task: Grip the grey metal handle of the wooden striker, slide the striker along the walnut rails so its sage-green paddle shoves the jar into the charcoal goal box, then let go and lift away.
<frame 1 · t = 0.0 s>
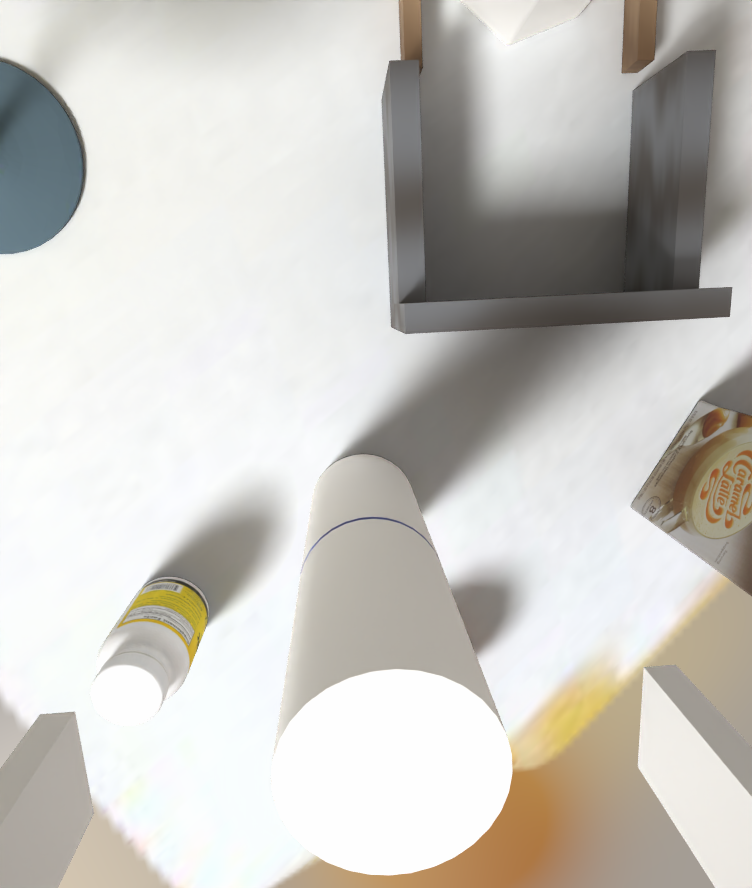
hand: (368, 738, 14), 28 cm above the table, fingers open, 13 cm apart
cylindrical container: (362, 502, 42), on the table
lane: (520, 58, 36), on the table
supplement bottle: (173, 607, 43), on the table
coffee box: (695, 471, 43), on the table
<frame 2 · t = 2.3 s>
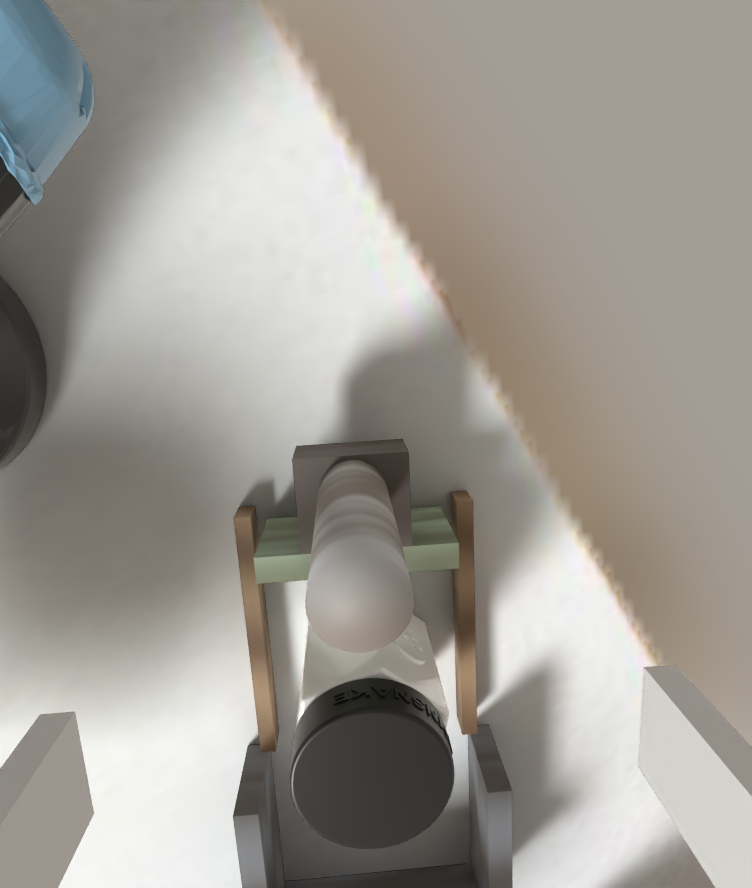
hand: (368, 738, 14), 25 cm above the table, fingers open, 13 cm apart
striker: (356, 538, 29), point 9 cm above the table, slide at 0.0 cm
jar: (363, 644, 41), resting in lane
lane: (367, 710, 42), on the table
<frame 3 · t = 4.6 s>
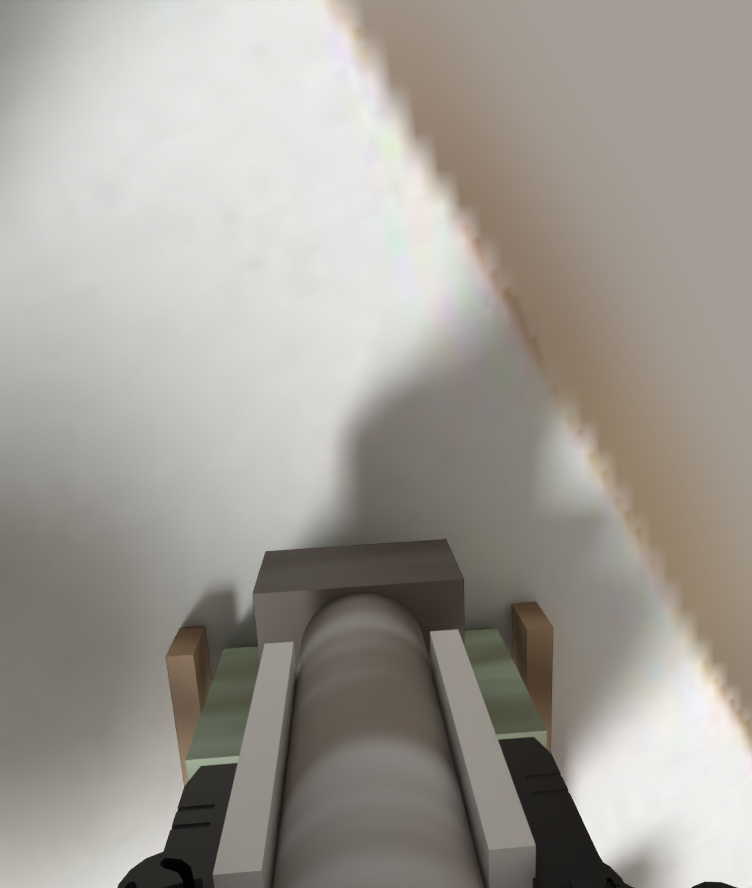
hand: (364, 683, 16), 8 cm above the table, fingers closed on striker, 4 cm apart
striker: (369, 766, 15), point 9 cm above the table, slide at 0.0 cm, touching gripper
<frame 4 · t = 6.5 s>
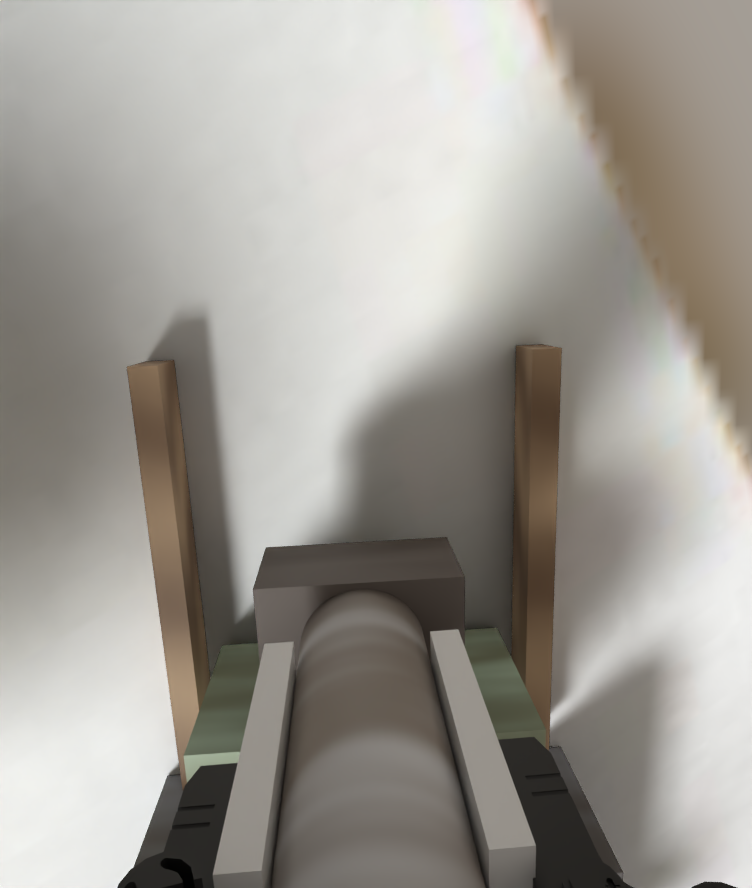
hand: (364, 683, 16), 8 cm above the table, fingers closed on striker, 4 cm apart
striker: (369, 763, 15), point 10 cm above the table, slide at 10.5 cm, touching gripper, jar
lane: (365, 720, 26), on the table
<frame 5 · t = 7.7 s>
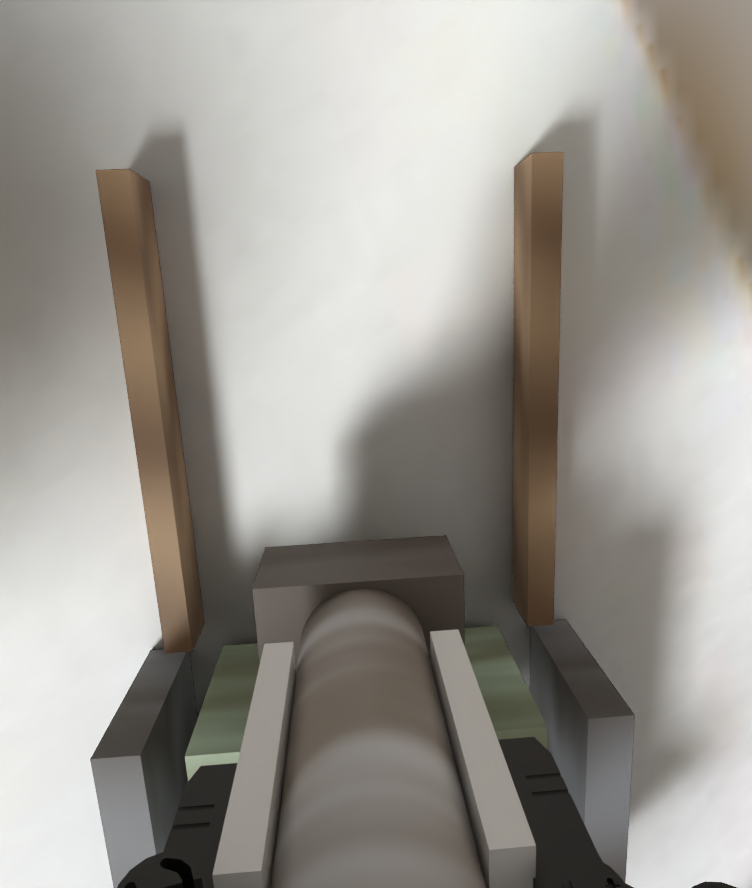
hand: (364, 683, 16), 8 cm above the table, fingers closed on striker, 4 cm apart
striker: (369, 761, 15), point 10 cm above the table, slide at 16.5 cm, touching gripper, jar
lane: (358, 589, 24), on the table
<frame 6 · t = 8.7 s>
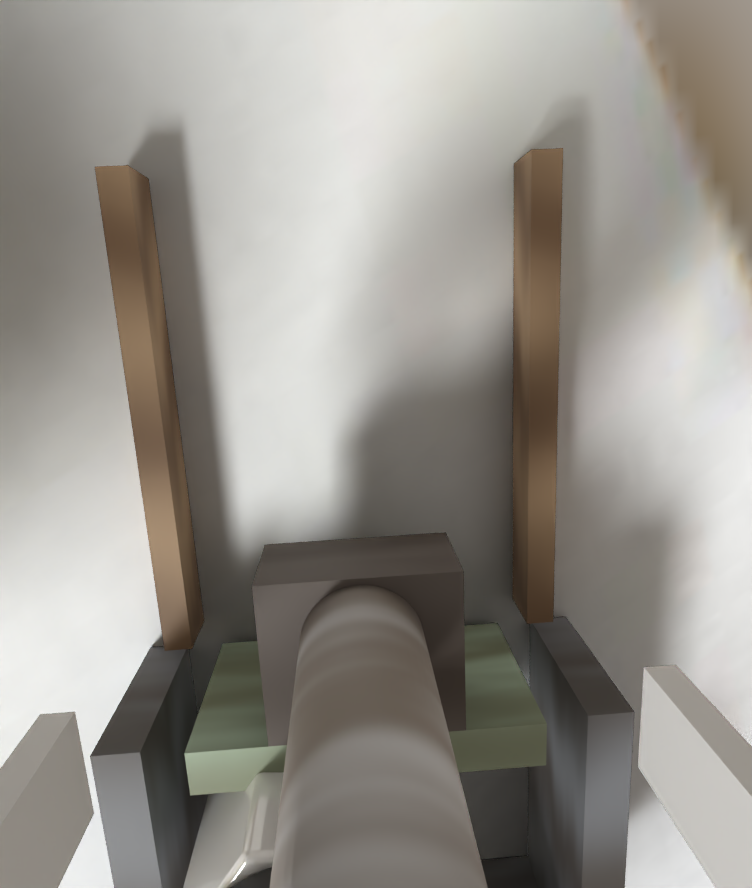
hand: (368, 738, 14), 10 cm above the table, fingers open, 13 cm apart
striker: (369, 758, 15), point 9 cm above the table, slide at 16.5 cm
jar: (331, 731, 26), resting in lane
lane: (358, 586, 24), on the table
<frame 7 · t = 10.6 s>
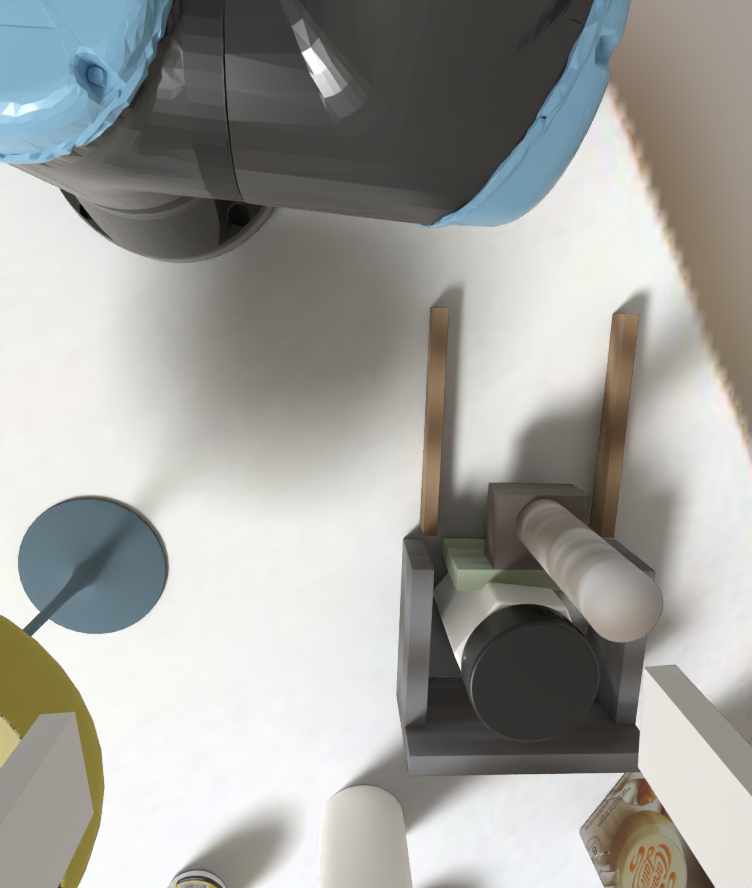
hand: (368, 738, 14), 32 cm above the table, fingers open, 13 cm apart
cylindrical container: (361, 819, 52), on the table
striker: (556, 561, 38), point 10 cm above the table, slide at 16.5 cm
jar: (486, 594, 48), resting in lane
lane: (512, 515, 47), on the table
coffee box: (633, 806, 53), on the table
cocktail glass: (94, 565, 46), on the table
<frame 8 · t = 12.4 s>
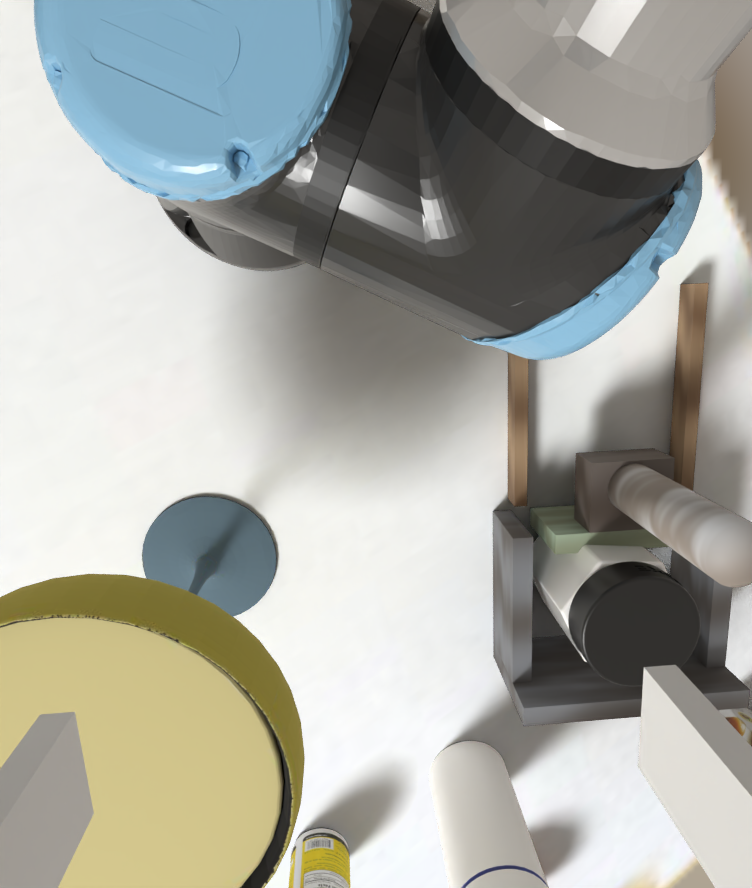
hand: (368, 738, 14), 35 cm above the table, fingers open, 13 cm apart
cylindrical container: (466, 772, 56), on the table
striker: (652, 520, 41), point 10 cm above the table, slide at 16.5 cm
jar: (572, 557, 52), resting in lane
lane: (594, 481, 50), on the table
supplement bottle: (321, 847, 57), on the table
coffee box: (718, 744, 57), on the table
cocktail glass: (210, 557, 50), on the table
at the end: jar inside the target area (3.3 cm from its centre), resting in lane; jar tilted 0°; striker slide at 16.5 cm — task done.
